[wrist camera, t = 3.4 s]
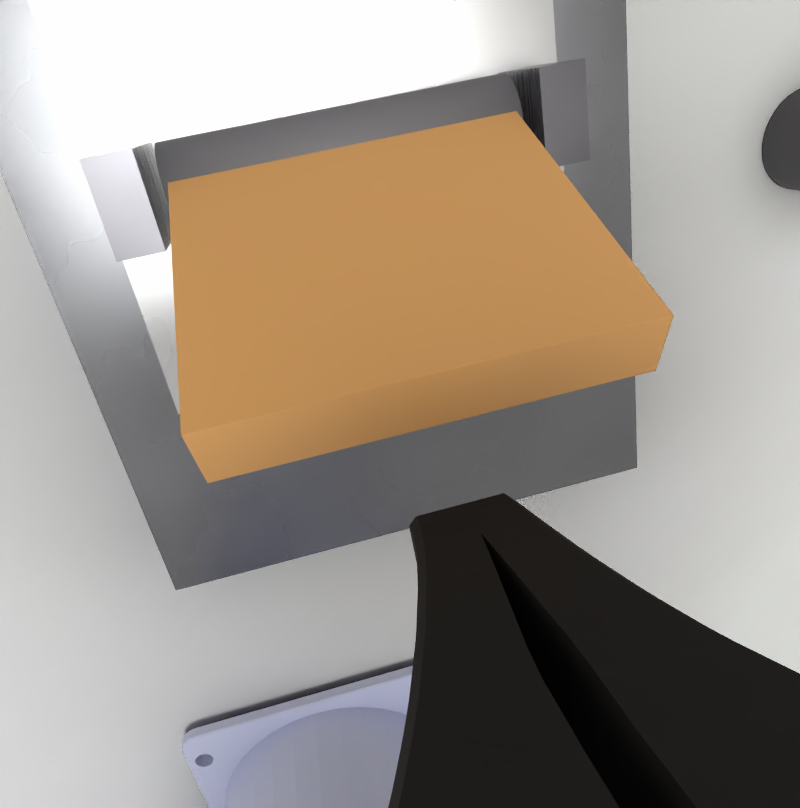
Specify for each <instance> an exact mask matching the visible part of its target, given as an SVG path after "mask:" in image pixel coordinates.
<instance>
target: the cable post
mask: <svg viewBox="0 0 800 808" xmlns="http://www.w3.org/2000/svg"><path fill="white" fill-rule="evenodd" d="M762 157H763V163H764V167H765V169H766V172H767V173H768V175H769V177H770V178H771V179H772V180H773V181H774V182H775V183H776V184H778V185H779V186H781V187H784V188H787V189H794V190H800V89H799V90H797V91H795V92H794V93H792V94H791V95H790V96H788V97H787V98H786V99H785V100H784V101H783V102H782V103H781V104H780V106H779V107H778V108H777V109H776V111H775V112H774V114H773V116H772V117H771V119H770V121H769V123H768V126H767V128H766V131H765V134H764V139H763V146H762Z"/></svg>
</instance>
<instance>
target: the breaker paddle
mask: <svg viewBox="0 0 800 808" xmlns="http://www.w3.org/2000/svg"><path fill="white" fill-rule="evenodd" d="M154 149H155V158H156V163H157V168H158V172H159V176H160V180H161V184H162V187H163V190H164V194H165V197H166V200H167V203H168V206H169V216H170V235H171V254H172V273H173V292H174V311H175V330H176V349H177V368H178V387H179V406H180V425H181V436H182V438H183V440H184V442H185V443H186V445H187V447H188V449H189V451H190V452H191V454H192V456H193V458H194V460H195V461H196V463H197V465H198V467H199V469H200V470H201V472H202V474H203V476H204V478H205V479H206V481H207V483H211V482H215V481H218V480H222V479H226V478H230V477H234V476H238V475H242V474H246V473H250V472H254V471H258V470H262V469H266V468H270V467H274V466H278V465H282V464H286V463H290V462H294V461H298V460H302V459H306V458H310V457H314V456H318V455H322V454H326V453H330V452H334V451H338V450H342V449H346V448H350V447H354V446H358V445H362V444H366V443H369V442H373V441H377V440H381V439H385V438H389V437H393V436H397V435H401V434H405V433H409V432H413V431H417V430H421V429H425V428H429V427H433V426H437V425H441V424H445V423H449V422H453V421H457V420H461V419H465V418H469V417H473V416H477V415H481V414H485V413H489V412H493V411H497V410H501V409H505V408H509V407H513V406H516V405H520V404H524V403H528V402H532V401H536V400H540V399H544V398H548V397H552V396H556V395H560V394H564V393H568V392H572V391H576V390H580V389H584V388H588V387H592V386H596V385H600V384H604V383H608V382H612V381H616V380H620V379H624V378H628V377H632V376H636V375H640V374H644V373H648V372H652V371H656V368H657V365H658V362H659V359H660V356H661V353H662V350H663V347H664V343H665V340H666V337H667V334H668V331H669V328H670V325H671V322H672V319H673V316H674V315H673V314H672V313H671V311H670V310H669V309H668V307H667V306H666V305H665V303H664V302H663V301H662V300H661V298H660V297H659V296H658V294H657V293H656V292H655V290H654V289H653V288H652V287H651V285H650V284H649V283H648V281H647V280H646V279H645V277H644V276H643V275H642V274H641V272H640V271H639V270H638V268H637V267H636V266H635V264H634V263H633V262H632V261H631V259H630V258H629V257H628V255H627V254H626V253H625V251H624V250H623V249H622V248H621V246H620V245H619V244H618V242H617V241H616V240H615V238H614V237H613V236H612V235H611V233H610V232H609V231H608V229H607V228H606V227H605V226H604V224H603V223H602V222H601V220H600V219H599V218H598V216H597V215H596V214H595V213H594V211H593V210H592V209H591V207H590V206H589V205H588V203H587V202H586V201H585V200H584V198H583V197H582V196H581V194H580V193H579V192H578V190H577V189H576V188H575V187H574V185H573V184H572V183H571V181H570V180H569V179H568V177H567V176H566V175H565V174H564V172H563V171H562V170H561V168H560V167H559V166H558V164H557V163H556V162H555V161H554V159H553V158H552V157H551V155H550V154H549V153H548V151H547V150H546V149H545V148H544V146H543V145H542V144H541V142H540V141H539V140H538V138H537V137H536V136H535V135H534V133H533V132H532V131H531V129H530V128H529V127H528V125H527V124H526V123H525V122H524V120H523V114H522V108H521V103H520V99H519V95H518V92H517V89H516V87H515V84H514V82H513V80H512V79H511V77H510V76H509V75H508V74H506V73H500V74H495V75H490V76H485V77H480V78H475V79H470V80H465V81H460V82H455V83H450V84H445V85H440V86H435V87H430V88H425V89H420V90H415V91H410V92H405V93H400V94H395V95H390V96H385V97H380V98H375V99H370V100H365V101H360V102H355V103H350V104H345V105H340V106H335V107H330V108H325V109H320V110H315V111H310V112H305V113H300V114H295V115H290V116H285V117H280V118H275V119H270V120H265V121H260V122H255V123H250V124H245V125H240V126H235V127H230V128H225V129H220V130H215V131H210V132H205V133H200V134H195V135H190V136H185V137H180V138H175V139H170V140H165V141H160V142H155V145H154Z"/></svg>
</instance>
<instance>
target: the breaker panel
mask: <svg viewBox="0 0 800 808" xmlns="http://www.w3.org/2000/svg"><path fill="white" fill-rule="evenodd" d="M500 73H506V74H508V75H509V76H510V77H511V79H512V80H513V82H514V84H515V87H516V89H517V92H518V95H519V99H520V103H521V108H522V114H523V120H524V122H525V123H526V124H527V125H528V127H529V128H530V129H531V131H532V132H533V133H534V135H535V136H536V137H537V138H538V140H539V141H540V142H541V144H542V145H543V146H544V148H545V149H546V150H547V151H548V153H549V154H550V155H551V157H552V158H553V159H554V161H555V162H556V163H557V164H558V166H559V167H560V168H561V170H562V171H563V172H564V174H565V175H566V176H567V177H568V179H569V180H570V181H571V183H572V184H573V185H574V187H575V188H576V189H577V190H578V192H579V193H580V194H581V196H582V197H583V198H584V200H585V201H586V202H587V203H588V205H589V206H590V207H591V209H592V210H593V211H594V213H595V214H596V215H597V216H598V218H599V219H600V220H601V222H602V223H603V224H604V226H605V227H606V228H607V229H608V231H609V232H610V233H611V235H612V236H613V237H614V238H615V240H616V241H617V242H618V244H619V245H620V246H621V248H622V249H623V250H624V251H625V253H626V254H627V255H628V257H629V258H630V259H631V261H632V238H631V197H630V155H629V114H628V73H627V31H626V0H0V171H1V174H2V176H3V178H4V181H5V183H6V185H7V188H8V190H9V193H10V195H11V197H12V200H13V202H14V205H15V207H16V209H17V212H18V214H19V217H20V219H21V221H22V224H23V226H24V228H25V231H26V233H27V236H28V238H29V240H30V243H31V245H32V248H33V250H34V252H35V255H36V257H37V260H38V262H39V264H40V267H41V269H42V271H43V274H44V276H45V279H46V281H47V283H48V286H49V288H50V291H51V293H52V295H53V298H54V300H55V303H56V305H57V307H58V310H59V312H60V314H61V317H62V319H63V322H64V324H65V326H66V329H67V331H68V334H69V336H70V338H71V341H72V343H73V346H74V348H75V350H76V353H77V355H78V357H79V360H80V362H81V365H82V367H83V369H84V372H85V374H86V377H87V379H88V381H89V384H90V386H91V389H92V391H93V393H94V396H95V398H96V400H97V403H98V405H99V408H100V410H101V412H102V415H103V417H104V420H105V422H106V424H107V427H108V429H109V432H110V434H111V436H112V439H113V441H114V443H115V446H116V448H117V451H118V453H119V455H120V458H121V460H122V463H123V465H124V467H125V470H126V472H127V475H128V477H129V479H130V482H131V484H132V486H133V489H134V491H135V494H136V496H137V498H138V501H139V503H140V506H141V508H142V510H143V513H144V515H145V518H146V520H147V522H148V525H149V527H150V529H151V532H152V534H153V537H154V539H155V541H156V544H157V546H158V549H159V551H160V553H161V556H162V558H163V561H164V563H165V565H166V568H167V570H168V572H169V575H170V577H171V580H172V582H173V584H174V587H175V589H176V590H179V589H183V588H186V587H190V586H194V585H198V584H201V583H205V582H209V581H213V580H216V579H220V578H224V577H228V576H231V575H235V574H239V573H243V572H246V571H250V570H254V569H258V568H261V567H265V566H269V565H273V564H277V563H280V562H284V561H288V560H292V559H295V558H299V557H303V556H307V555H310V554H314V553H318V552H322V551H325V550H329V549H333V548H337V547H340V546H344V545H348V544H352V543H355V542H359V541H363V540H367V539H370V538H374V537H378V536H382V535H385V534H389V533H393V532H397V531H400V530H404V529H408V528H410V527H409V525H410V524H411V522H412V521H413V520H414V518H415V517H416V516H419V515H423V514H426V513H430V512H434V511H438V510H442V509H445V508H449V507H453V506H457V505H460V504H464V503H468V502H472V501H476V500H479V499H483V498H487V497H491V496H495V495H498V494H502V493H505V494H506V495H508V496H509V497H511V498H513V499H514V500H517V499H521V498H524V497H528V496H532V495H536V494H539V493H543V492H547V491H551V490H554V489H558V488H562V487H566V486H569V485H573V484H577V483H581V482H584V481H588V480H592V479H596V478H599V477H603V476H607V475H611V474H614V473H618V472H622V471H626V470H629V469H633V468H637V445H636V404H635V376H632V377H628V378H624V379H620V380H616V381H612V382H608V383H604V384H600V385H596V386H592V387H588V388H584V389H580V390H576V391H572V392H568V393H564V394H560V395H556V396H552V397H548V398H544V399H540V400H536V401H532V402H528V403H524V404H520V405H516V406H513V407H509V408H505V409H501V410H497V411H493V412H489V413H485V414H481V415H477V416H473V417H469V418H465V419H461V420H457V421H453V422H449V423H445V424H441V425H437V426H433V427H429V428H425V429H421V430H417V431H413V432H409V433H405V434H401V435H397V436H393V437H389V438H385V439H381V440H377V441H373V442H369V443H366V444H362V445H358V446H354V447H350V448H346V449H342V450H338V451H334V452H330V453H326V454H322V455H318V456H314V457H310V458H306V459H302V460H298V461H294V462H290V463H286V464H282V465H278V466H274V467H270V468H266V469H262V470H258V471H254V472H250V473H246V474H242V475H238V476H234V477H230V478H226V479H222V480H218V481H215V482H211V483H207V481H206V479H205V478H204V476H203V474H202V472H201V470H200V469H199V467H198V465H197V463H196V461H195V460H194V458H193V456H192V454H191V452H190V451H189V449H188V447H187V445H186V443H185V442H184V440H183V438H182V436H181V425H180V406H179V387H178V368H177V349H176V330H175V311H174V292H173V273H172V254H171V235H170V216H169V206H168V203H167V200H166V197H165V194H164V190H163V187H162V184H161V180H160V176H159V172H158V168H157V163H156V158H155V149H154V145H155V142H160V141H165V140H170V139H175V138H180V137H185V136H190V135H195V134H200V133H205V132H210V131H215V130H220V129H225V128H230V127H235V126H240V125H245V124H250V123H255V122H260V121H265V120H270V119H275V118H280V117H285V116H290V115H295V114H300V113H305V112H310V111H315V110H320V109H325V108H330V107H335V106H340V105H345V104H350V103H355V102H360V101H365V100H370V99H375V98H380V97H385V96H390V95H395V94H400V93H405V92H410V91H415V90H420V89H425V88H430V87H435V86H440V85H445V84H450V83H455V82H460V81H465V80H470V79H475V78H480V77H485V76H490V75H495V74H500Z"/></svg>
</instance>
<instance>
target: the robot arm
mask: <svg viewBox="0 0 800 808" xmlns="http://www.w3.org/2000/svg"><path fill="white" fill-rule="evenodd" d="M409 527H410V532H411V537H412V542H413V546H414V551H415V556H416V561H417V572H418V603H417V629H416V643H415V652H414V660H413V666H409V667H406V668H403V669H399V670H396V671H392V672H389V673H385V674H382V675H378V676H375V677H371V678H368V679H364V680H361V681H357V682H354V683H350V684H347V685H343V686H340V687H336V688H333V689H329V690H326V691H323V692H319V693H316V694H312V695H309V696H305V697H302V698H298V699H295V700H291V701H288V702H284V703H281V704H277V705H274V706H270V707H267V708H263V709H260V710H256V711H253V712H249V713H246V714H242V715H239V716H236V717H232V718H229V719H225V720H222V721H218V722H215V723H211V724H208V725H204V726H201V727H197V728H194V729H192V730H190V731H188V732H187V733H186V734H185V735H184V738H183V742H182V753H183V755H184V757H185V759H186V761H187V763H188V765H189V768H190V770H191V772H192V774H193V776H194V778H195V780H196V782H197V784H198V786H199V788H200V790H201V793H202V795H203V797H204V799H205V801H206V803H207V805H208V807H209V808H800V674H799V673H797V672H795V671H793V670H791V669H789V668H787V667H785V666H783V665H781V664H779V663H777V662H775V661H773V660H771V659H769V658H767V657H765V656H763V655H761V654H759V653H757V652H755V651H753V650H750V649H748V648H746V647H744V646H742V645H740V644H738V643H736V642H734V641H732V640H731V639H729V638H727V637H725V636H723V635H721V634H719V633H717V632H716V631H714V630H712V629H710V628H708V627H706V626H705V625H703V624H701V623H699V622H698V621H696V620H694V619H692V618H691V617H689V616H687V615H686V614H684V613H682V612H680V611H679V610H677V609H675V608H674V607H672V606H670V605H668V604H667V603H665V602H663V601H662V600H660V599H658V598H657V597H655V596H653V595H652V594H650V593H649V592H647V591H645V590H644V589H642V588H641V587H639V586H637V585H636V584H634V583H633V582H631V581H630V580H628V579H626V578H625V577H623V576H622V575H620V574H619V573H617V572H616V571H614V570H613V569H611V568H610V567H608V566H607V565H605V564H604V563H602V562H601V561H599V560H598V559H596V558H594V557H593V556H591V555H590V554H589V553H587V552H586V551H584V550H583V549H581V548H580V547H578V546H577V545H576V544H574V543H573V542H571V541H570V540H569V539H567V538H566V537H564V536H563V535H562V534H560V533H559V532H557V531H556V530H555V529H553V528H552V527H550V526H549V525H548V524H546V523H545V522H544V521H542V520H541V519H540V518H538V517H537V516H535V515H534V514H533V513H531V512H530V511H529V510H527V509H526V508H525V507H523V506H522V505H521V504H519V503H518V502H517V501H515V500H514V499H513V498H511V497H509V496H508V495H506V494H505V493H502V494H498V495H495V496H491V497H487V498H483V499H479V500H476V501H472V502H468V503H464V504H460V505H457V506H453V507H449V508H445V509H442V510H438V511H434V512H430V513H426V514H423V515H419V516H416V517H415V518H414V520H413V521H412V522H411V524H410V525H409ZM203 754H208V755H203Z"/></svg>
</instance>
